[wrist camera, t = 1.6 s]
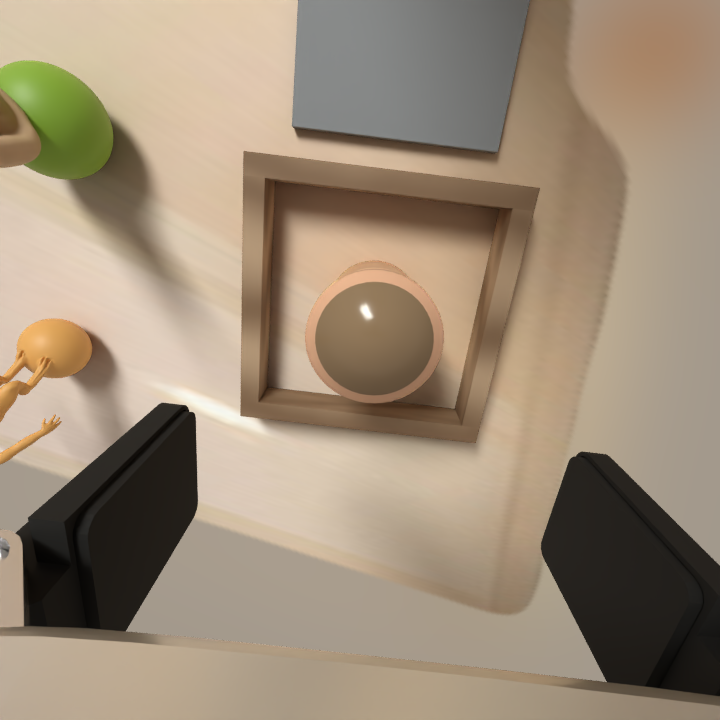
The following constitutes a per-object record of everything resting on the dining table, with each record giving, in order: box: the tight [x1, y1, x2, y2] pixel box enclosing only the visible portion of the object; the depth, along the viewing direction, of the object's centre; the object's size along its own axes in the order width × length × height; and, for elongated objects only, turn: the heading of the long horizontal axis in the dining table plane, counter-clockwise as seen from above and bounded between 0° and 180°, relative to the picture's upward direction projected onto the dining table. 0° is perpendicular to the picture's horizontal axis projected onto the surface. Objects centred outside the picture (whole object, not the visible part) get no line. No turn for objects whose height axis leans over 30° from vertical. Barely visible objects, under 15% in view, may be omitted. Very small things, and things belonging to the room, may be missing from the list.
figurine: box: [0, 319, 92, 464], centre depth 23 cm, size 8×6×12 cm
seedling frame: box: [241, 151, 540, 443], centre depth 26 cm, size 16×16×2 cm
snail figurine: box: [0, 61, 113, 180], centre depth 18 cm, size 5×6×12 cm
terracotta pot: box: [305, 261, 444, 403], centre depth 23 cm, size 7×7×8 cm
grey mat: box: [292, 0, 530, 153], centre depth 21 cm, size 12×12×1 cm
